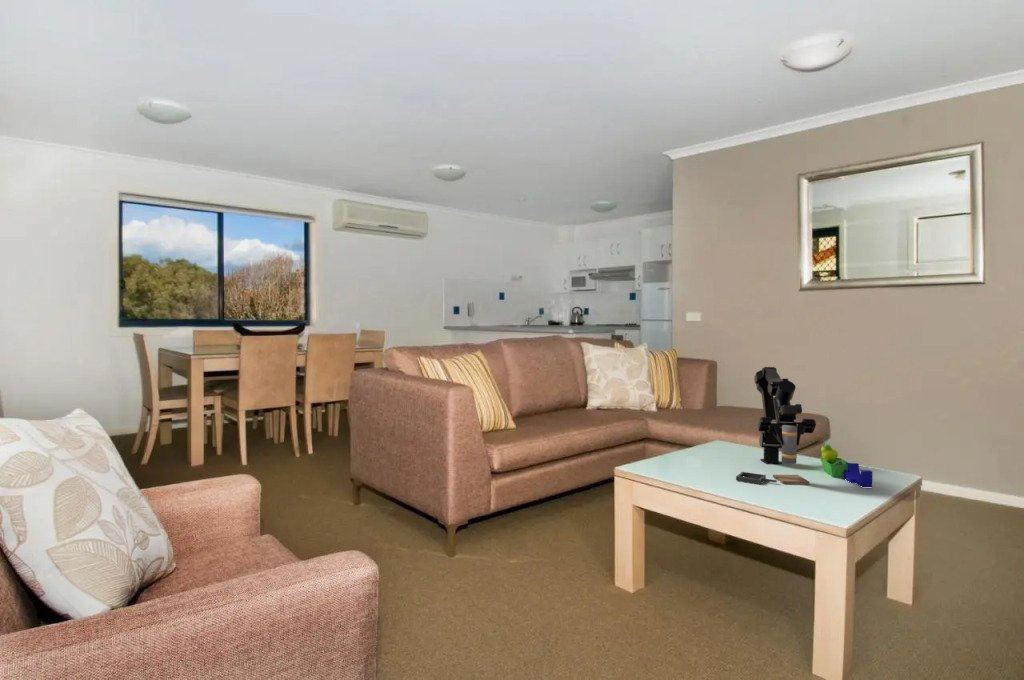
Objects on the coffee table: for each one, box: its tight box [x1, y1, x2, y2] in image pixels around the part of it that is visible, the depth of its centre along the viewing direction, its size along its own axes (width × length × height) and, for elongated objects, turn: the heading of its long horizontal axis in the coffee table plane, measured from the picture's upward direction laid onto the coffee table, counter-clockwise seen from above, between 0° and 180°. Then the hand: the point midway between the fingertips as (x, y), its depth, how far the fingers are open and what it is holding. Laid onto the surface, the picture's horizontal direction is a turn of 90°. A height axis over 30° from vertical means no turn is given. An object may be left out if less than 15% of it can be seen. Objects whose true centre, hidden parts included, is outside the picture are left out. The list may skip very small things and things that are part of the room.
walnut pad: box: [772, 474, 810, 485], centre depth 208 cm, size 9×9×1 cm
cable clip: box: [843, 462, 873, 488], centre depth 205 cm, size 12×4×6 cm, turn 172°
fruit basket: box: [819, 444, 849, 478], centre depth 217 cm, size 11×9×11 cm
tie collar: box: [735, 471, 778, 485], centre depth 207 cm, size 8×13×2 cm, turn 54°
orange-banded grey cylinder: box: [781, 425, 798, 465], centre depth 208 cm, size 5×5×13 cm
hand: (790, 444), depth 206 cm, fingers closed on orange-banded grey cylinder, 5 cm apart
